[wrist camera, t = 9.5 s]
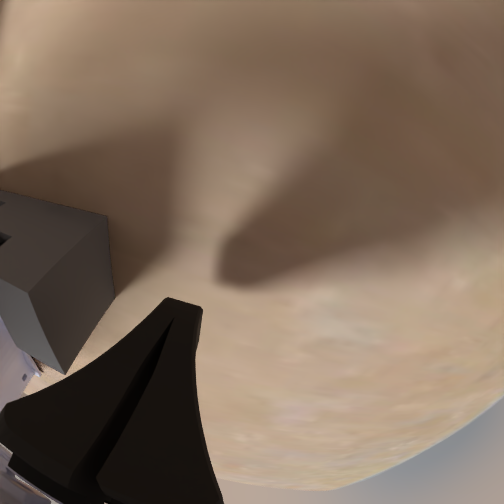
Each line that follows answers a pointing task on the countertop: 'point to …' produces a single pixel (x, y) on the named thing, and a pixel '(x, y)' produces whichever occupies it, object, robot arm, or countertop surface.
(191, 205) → the countertop surface
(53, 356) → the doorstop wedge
